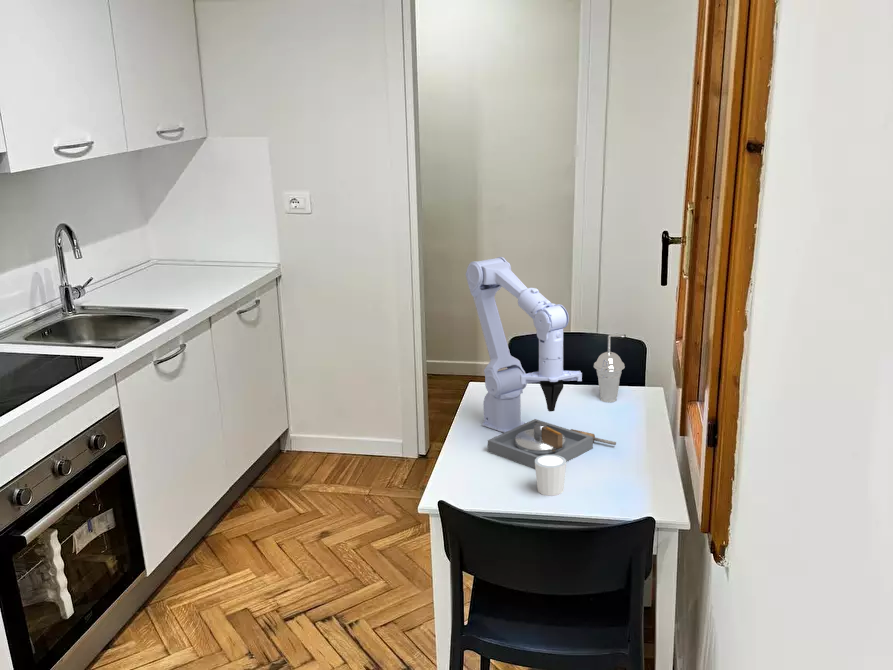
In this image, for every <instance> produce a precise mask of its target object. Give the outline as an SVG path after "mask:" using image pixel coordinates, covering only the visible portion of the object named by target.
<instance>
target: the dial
mask: <svg viewBox="0 0 893 670" xmlns="http://www.w3.org/2000/svg"><path fill="white" fill-rule="evenodd" d="M515 444H516V447H517V448H518V449H520V450H523V451H526V452H529V453H532V454H537V455H545V454H552V453H556V452H559V451H561V450H562V449H564V447H565V436H564V435H563V434H562V433H560V432H558V431H556V430H554V429H552V428H549V427H547V426H546V424H545V423H542V422H538V423H535V424H534V429H530V430H525V431H522V432H520V433H519V434H517V435H516V438H515Z"/></svg>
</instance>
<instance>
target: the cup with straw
mask: <svg viewBox="0 0 893 670" xmlns="http://www.w3.org/2000/svg"><path fill="white" fill-rule="evenodd" d="M611 337H612V338H626V334H624V333H623V334H619V333H610V334H609V335H607V351H605V352H602V353H601V354H600V355H598V358H597V360H596V361H595V362H594V363H593V368H594V370H596V376H597V378H598V379H597V380H598V391H599V396H600V399H599V400H600V401H602V402H603V403H614V402H617V400H618V395H619V386H620V379H621V376H622V370H624V369H625V367H626V366H625V363H624V362H623V361H622V359H621V356H619V355H618V354H617V353H616V352H614V351H613V352H612V351H611Z"/></svg>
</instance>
